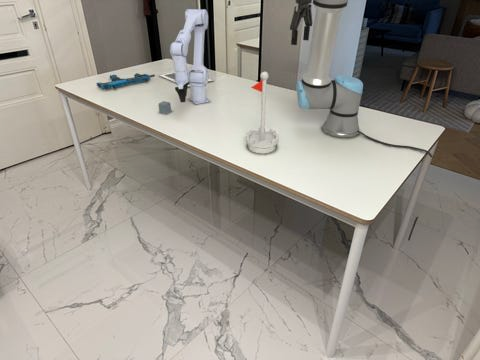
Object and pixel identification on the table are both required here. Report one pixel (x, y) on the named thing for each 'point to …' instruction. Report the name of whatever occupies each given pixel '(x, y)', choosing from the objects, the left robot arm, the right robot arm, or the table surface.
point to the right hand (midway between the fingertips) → (300, 42)
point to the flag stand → (262, 125)
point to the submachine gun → (124, 81)
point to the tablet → (172, 76)
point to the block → (164, 107)
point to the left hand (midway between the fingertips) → (183, 99)
